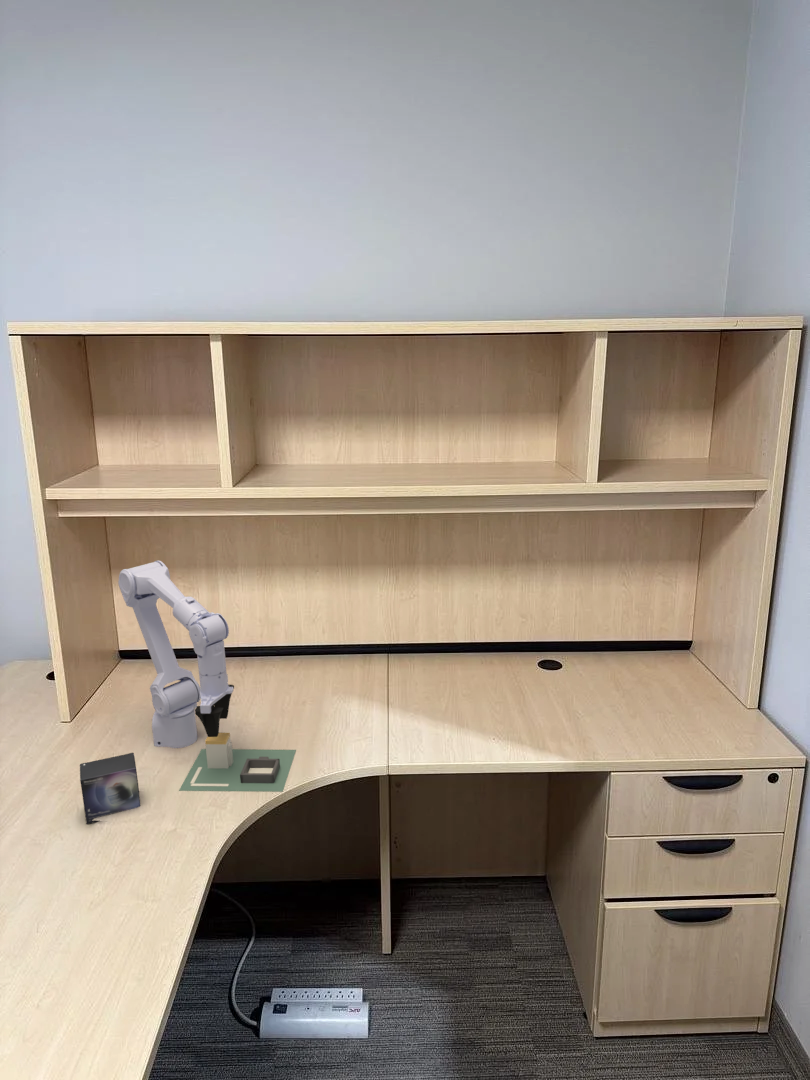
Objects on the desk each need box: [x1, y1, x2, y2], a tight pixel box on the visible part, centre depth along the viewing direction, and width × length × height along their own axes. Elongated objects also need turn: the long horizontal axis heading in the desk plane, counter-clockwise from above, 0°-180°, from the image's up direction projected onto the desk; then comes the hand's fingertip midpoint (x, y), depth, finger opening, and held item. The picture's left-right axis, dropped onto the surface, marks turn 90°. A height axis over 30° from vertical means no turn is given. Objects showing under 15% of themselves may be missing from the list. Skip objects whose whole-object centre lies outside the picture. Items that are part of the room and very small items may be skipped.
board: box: [178, 748, 297, 793], centre depth 162 cm, size 22×16×3 cm
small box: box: [79, 752, 141, 825], centre depth 150 cm, size 11×6×10 cm, turn 114°
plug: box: [204, 732, 233, 768], centre depth 164 cm, size 5×4×7 cm
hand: (217, 726), depth 162 cm, fingers open, 7 cm apart
